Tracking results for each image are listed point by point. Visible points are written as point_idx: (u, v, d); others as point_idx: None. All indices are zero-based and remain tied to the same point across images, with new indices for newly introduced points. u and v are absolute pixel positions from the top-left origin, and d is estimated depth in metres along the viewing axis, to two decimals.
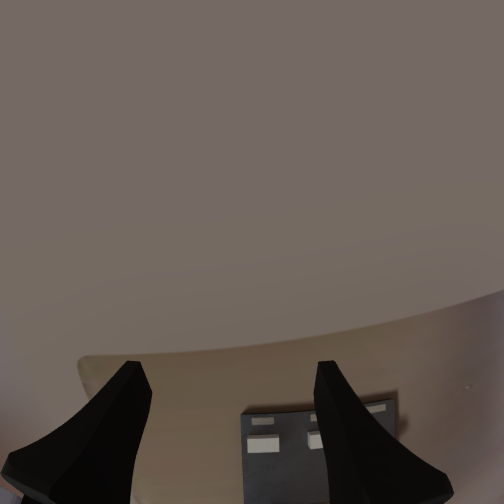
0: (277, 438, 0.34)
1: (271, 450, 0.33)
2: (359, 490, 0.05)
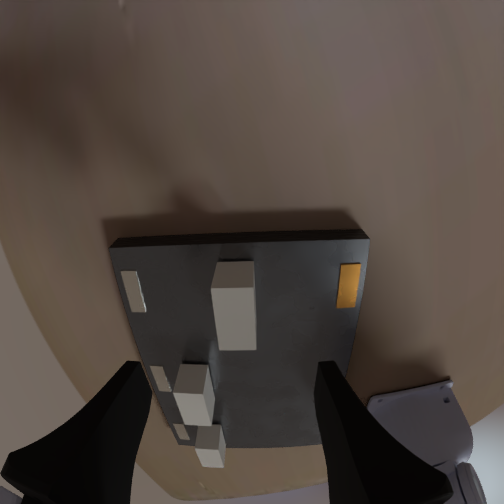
0: (196, 448, 0.21)
1: (217, 454, 0.22)
2: (359, 490, 0.05)
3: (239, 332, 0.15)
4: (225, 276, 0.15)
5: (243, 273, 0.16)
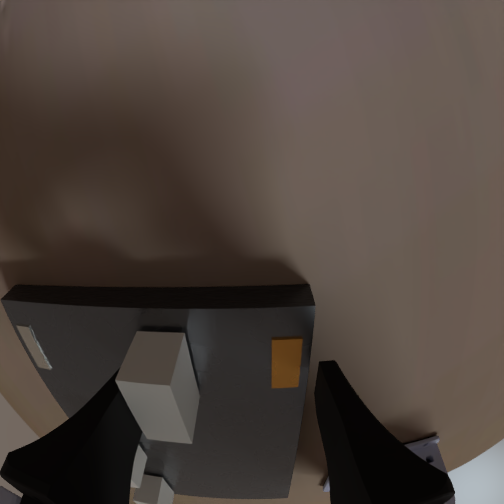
0: (135, 500, 0.16)
1: None
2: (361, 490, 0.05)
3: (165, 426, 0.10)
4: (139, 360, 0.10)
5: (164, 356, 0.10)
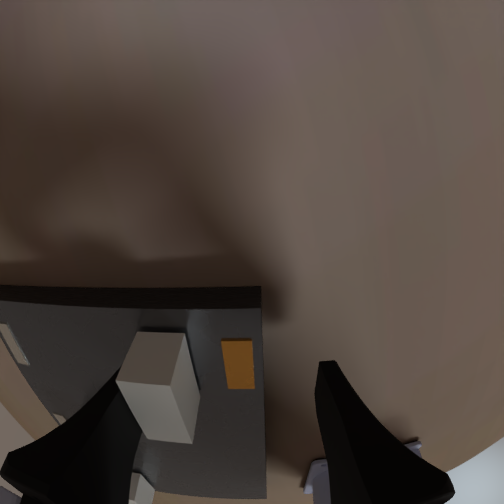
0: None
1: (135, 503, 0.16)
2: (361, 490, 0.05)
3: (166, 426, 0.10)
4: (139, 360, 0.10)
5: (164, 356, 0.10)
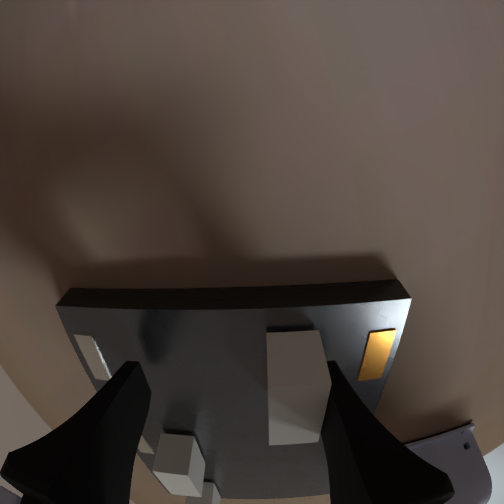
0: None
1: None
2: (361, 490, 0.05)
3: (300, 428, 0.10)
4: (285, 362, 0.10)
5: (310, 355, 0.10)
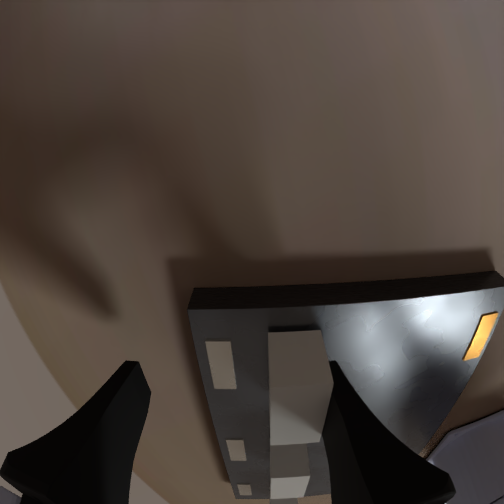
0: None
1: None
2: (362, 490, 0.05)
3: (301, 428, 0.10)
4: (287, 362, 0.10)
5: (312, 355, 0.10)
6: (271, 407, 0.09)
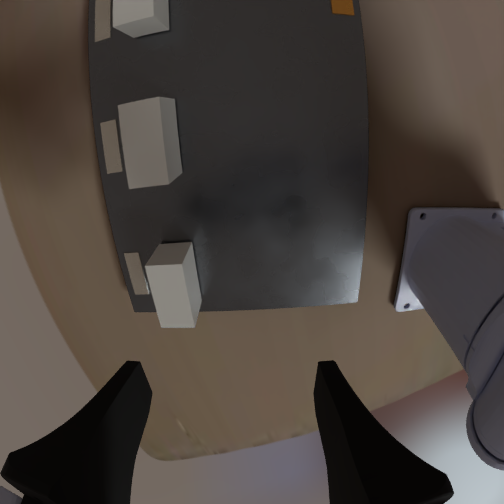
0: (147, 268, 0.15)
1: (180, 281, 0.15)
2: (359, 490, 0.05)
3: None
4: None
5: None
6: None
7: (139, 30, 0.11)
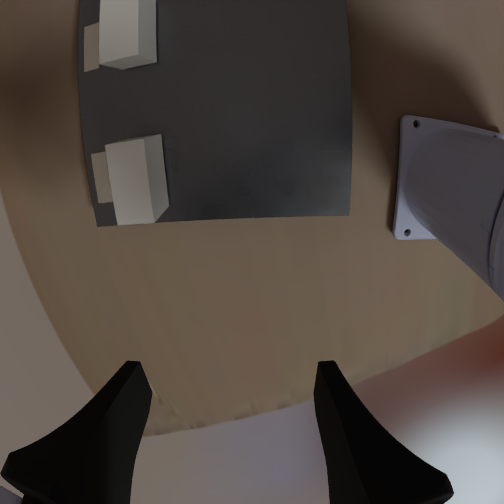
0: (108, 148, 0.13)
1: (140, 160, 0.13)
2: (359, 490, 0.05)
3: None
4: None
5: None
6: None
7: None
